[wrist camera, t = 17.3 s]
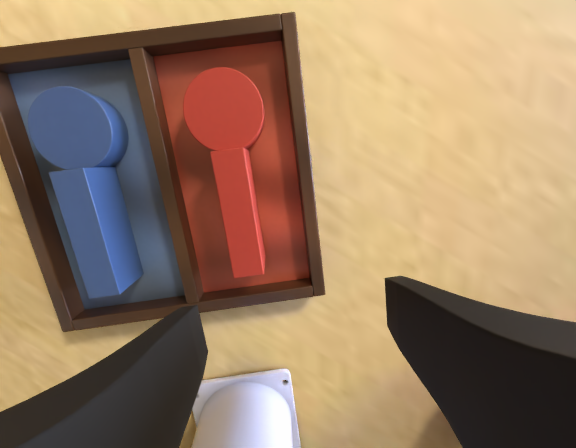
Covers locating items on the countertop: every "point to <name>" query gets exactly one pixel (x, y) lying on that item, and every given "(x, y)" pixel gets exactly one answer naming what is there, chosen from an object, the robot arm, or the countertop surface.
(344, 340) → the countertop surface
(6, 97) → the sorting tray
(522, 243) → the countertop surface
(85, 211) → the blue spoon
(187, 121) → the red spoon
